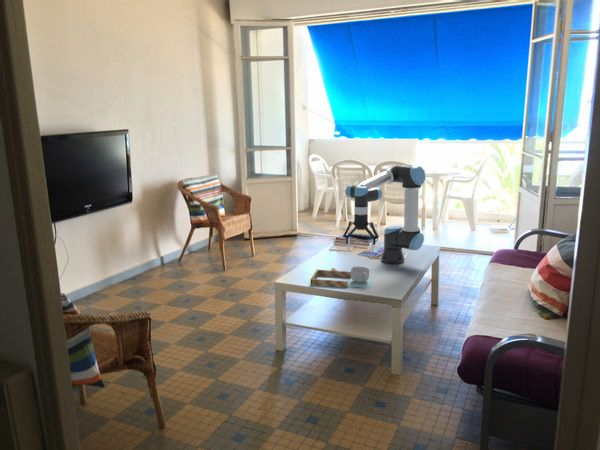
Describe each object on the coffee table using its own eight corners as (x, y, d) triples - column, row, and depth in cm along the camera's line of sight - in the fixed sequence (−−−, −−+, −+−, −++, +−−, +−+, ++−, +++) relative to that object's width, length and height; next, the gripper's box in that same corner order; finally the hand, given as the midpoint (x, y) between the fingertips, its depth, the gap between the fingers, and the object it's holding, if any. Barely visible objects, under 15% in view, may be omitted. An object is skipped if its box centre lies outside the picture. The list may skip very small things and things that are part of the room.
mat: (372, 279, 314) (372, 278, 314) (369, 288, 299) (369, 287, 299) (350, 277, 317) (350, 277, 317) (347, 286, 302) (347, 286, 302)
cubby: (351, 277, 318) (351, 271, 317) (347, 287, 300) (347, 281, 299) (316, 275, 323) (316, 269, 322) (310, 285, 305) (310, 279, 304)
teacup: (349, 279, 314) (349, 266, 312) (367, 278, 315) (367, 265, 313) (353, 286, 300) (353, 273, 299) (372, 286, 301) (372, 272, 300)
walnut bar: (339, 276, 321) (339, 273, 321) (336, 276, 321) (336, 274, 321) (334, 270, 333) (334, 268, 332) (331, 270, 332) (331, 268, 332)
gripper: (383, 212, 299) (382, 248, 304) (340, 211, 305) (340, 247, 310) (382, 215, 292) (382, 252, 297) (338, 214, 298) (338, 250, 303)
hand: (360, 249), depth 303 cm, fingers open, 13 cm apart
